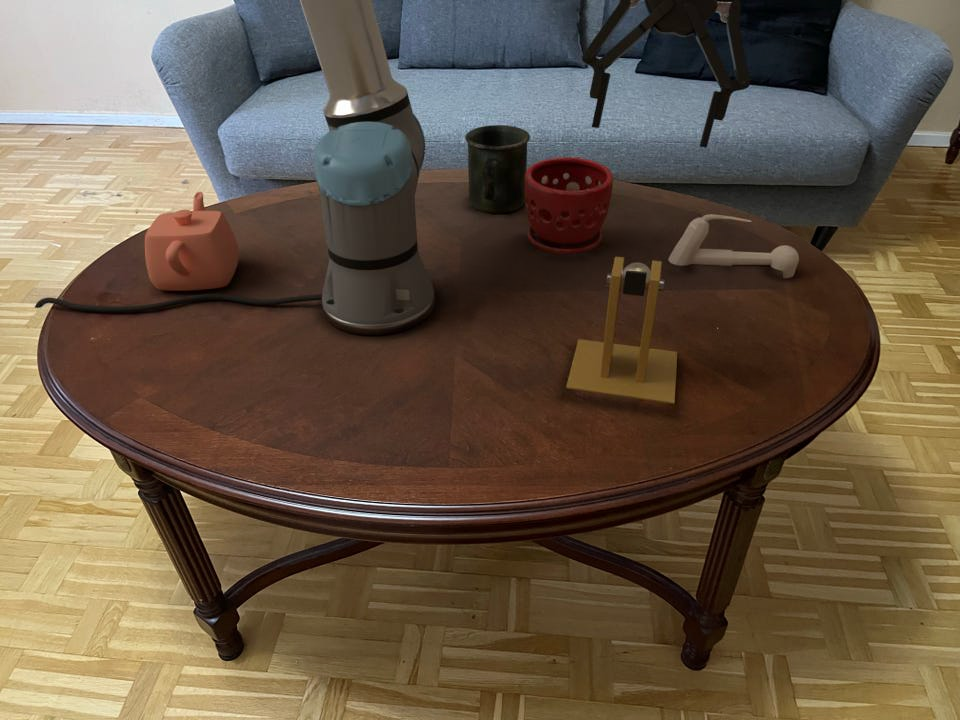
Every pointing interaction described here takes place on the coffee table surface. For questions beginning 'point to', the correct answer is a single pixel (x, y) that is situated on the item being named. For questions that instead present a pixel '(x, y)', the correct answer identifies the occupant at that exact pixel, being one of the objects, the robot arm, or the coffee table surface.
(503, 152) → the mug
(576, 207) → the flower pot
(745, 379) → the coffee table surface
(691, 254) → the faucet
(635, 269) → the black lever with ball
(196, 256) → the teapot
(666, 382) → the yellow post stand
